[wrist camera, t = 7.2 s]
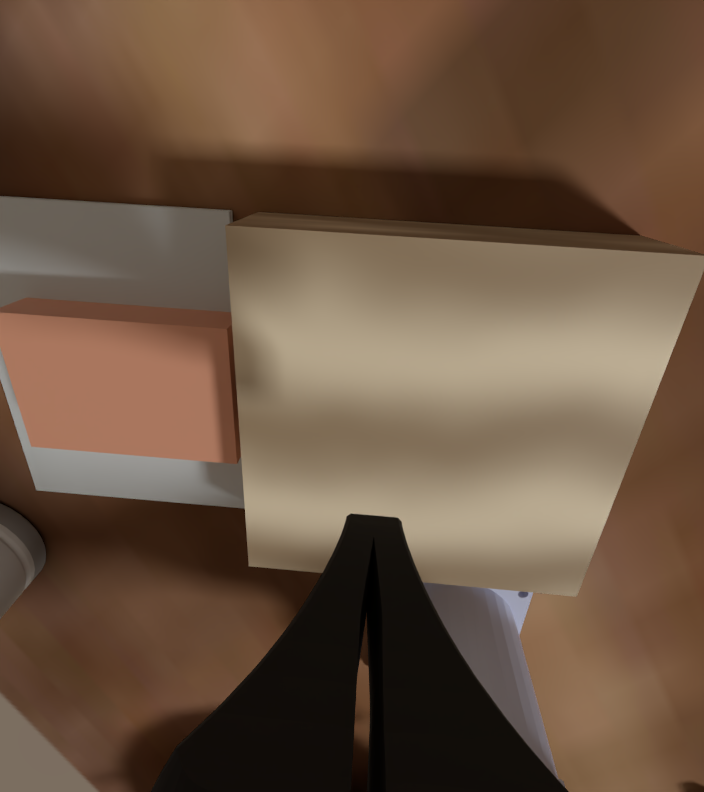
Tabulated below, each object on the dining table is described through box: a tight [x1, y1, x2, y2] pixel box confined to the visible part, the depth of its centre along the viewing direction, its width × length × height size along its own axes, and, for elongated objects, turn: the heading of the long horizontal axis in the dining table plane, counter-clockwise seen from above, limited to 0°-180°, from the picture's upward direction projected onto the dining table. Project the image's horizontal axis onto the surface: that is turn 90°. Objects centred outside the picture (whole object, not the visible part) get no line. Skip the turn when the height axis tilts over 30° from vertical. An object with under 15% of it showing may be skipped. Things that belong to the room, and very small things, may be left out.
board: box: [225, 212, 704, 597], centre depth 19 cm, size 14×14×4 cm
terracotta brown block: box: [0, 298, 241, 464], centre depth 19 cm, size 6×9×2 cm, turn 87°
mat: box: [0, 196, 245, 509], centre depth 21 cm, size 14×11×1 cm
